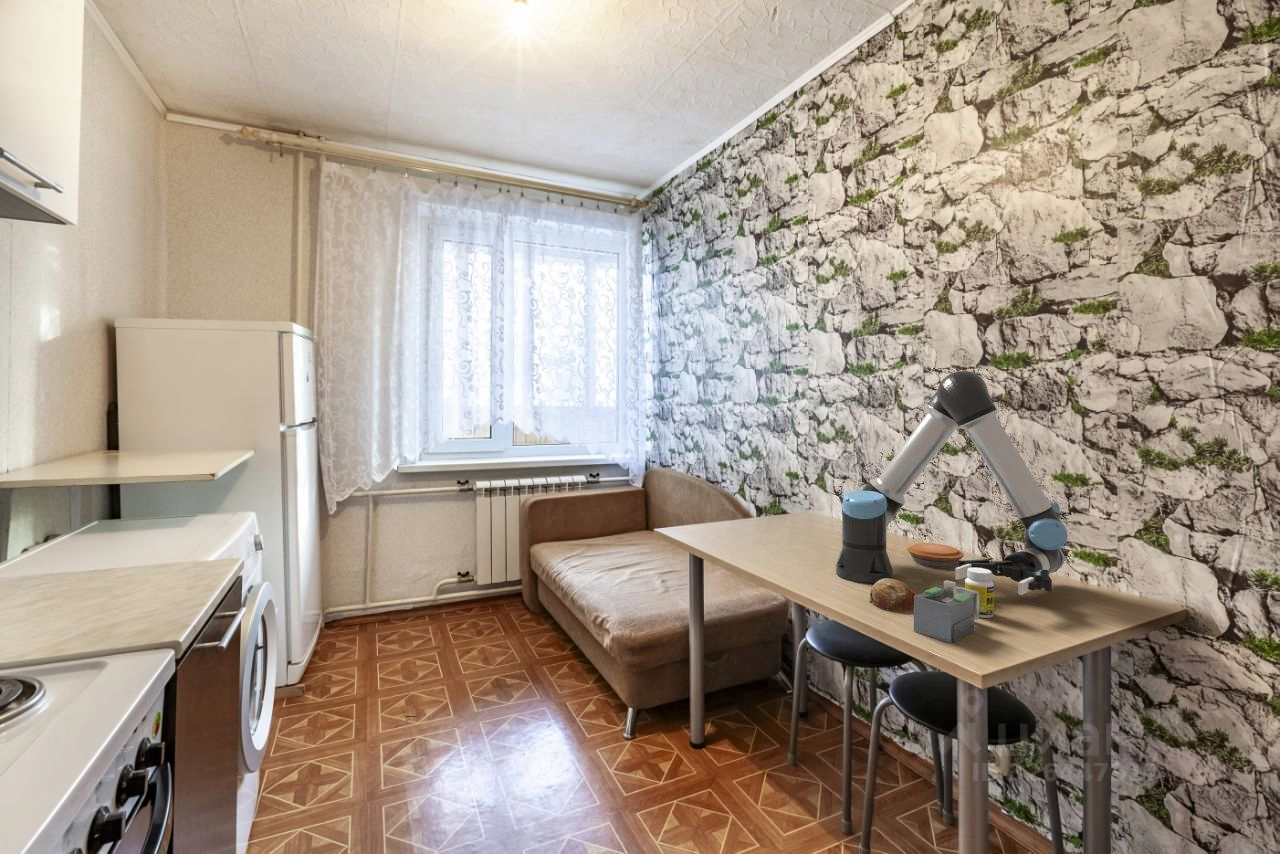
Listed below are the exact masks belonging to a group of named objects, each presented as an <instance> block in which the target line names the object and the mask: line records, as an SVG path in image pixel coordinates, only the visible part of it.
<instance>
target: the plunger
mask: <svg viewBox="0 0 1280 854" xmlns="http://www.w3.org/2000/svg"><path fill="white" fill-rule="evenodd" d="M956 583H957V582H955V581H951V580H948V579H946V580H943V589H944V599H942V600H939V602H941V603H948V602H950V601H952V600H953V599H954V598H956V597H958V596H960V595H963V594H965V595H969V596H973V597H974V600H973V615H974V621H975V620H976V621H977V620H979V619H980V617H979V592H978V591H974V590H970V589H966V588H965V587H962V586H957V584H956Z"/></svg>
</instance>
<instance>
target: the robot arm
mask: <svg viewBox="0 0 1280 854" xmlns="http://www.w3.org/2000/svg"><path fill="white" fill-rule="evenodd" d="M926 410H927V413H926V414H925V415H924V416H923V418H922V419H921V421H920V422H919V424H917V426H916V428H915V429H914V430H913V431H912V433H911V434H910V435H909V437H908V438H907V439H906V441H905V442H904V443H903V444H902V446H901V447H900V449H899V450H898V451H897V452H896V454H894V456H893V458H892V459H891V461H890V462H889V463H888V464H887V465H886V467H885V469H883V471H882V472H881V474H880V475H879V476H878V477H877V478H876V477H875V478H871V479H869V481H868V482H867V483H866V485H865V486H864V487H863V488H862V490H855V491H849V492H847V493H846V494H845V495H843V498H842V502H841V509H842V510H841V511H842V521H841V522H842V526H841V527H842V537H841V538H842V541H841V542H842V544H841V545H842V546H841V550H840V553H839V556H838V558H837V562H836V564H835V574H836V575H837V576H838V577H840V578H843V579H846V580H848V581H852V582H859V583H865V584H875V583H876V582H877V581H879V580H881V579H885V578H889V579H894V570H893V566H892V563H891V561H890V557H889V554H888V552H887V526H888V525H889V524H890V523H892V521H893V520H894V518H895V517H896V515H897V514H898V512H899V511H900V510H901V508H902V507H903V506H904V505H905V503H906V500H905V495H906V493H907V492H908V491H909V490H910V488H911V487H912V486H913V484H914V483H915V482H916V480H917V479H918V478H919V476H920V475H921V474H922V473H923V472H924V470H925V469H926V468H927V466H928V465H929V464H931V462H932V460H934V458H935V457H936V456H937V454H938V453H939V451H940V450H941V449H942V448H943V446H945V444H946V442H948V440H949V438H951V436H952V435H953V433H954V432H955V431H956V430H957V429H963V430H965V432H966V433H967V435H968V437H969V438H970V440H971V441H972V443H973V445H974V447H975V448H976V450H977V451H978V453H979V455H980V456H981V458H982V460H983V461H984V463H985V465H986V466H987V468H988V469H989V471H990V472H991V475H992V476H993V478H994V479H995V481H996V482H997V485H998V486H999V488H1000V490H1001V491H1002V493H1003V494H1004V496H1005V498H1006V500H1007V501H1008V503H1009V504H1010V505H1011V507H1012V509H1013V511H1014V512H1015V514H1016V516H1017V518H1018V520H1019V521H1020V523H1021V525H1022V526H1023V527H1024V542H1023V543H1024V544H1023V545H1024V546H1023V547H1024V549H1021V550H1018V551H1015V552H1013V553H1010V554H1008V555H1007V556H1006V557H1005V558H1004V560H1002V561H998V560H996V561H995V560H993V559H992V558H984V559H966V560H965V559H963V560H961V559H960V560H959V561H958V563H957V565H958V566H957V567H955V569H954V570H955V573H954V574H955V575H954V576H955V577H954V579H955V580H958V581H959V580H961V579H964V578H965V579H966V578H968V576H967V569H968V568H983V569H987V570H990V571H991V572H992V576H993V575H994V576H995V577H1005V578H1009V579H1011V580H1012V581H1014V582H1017V583H1018V584H1017V588H1018V589H1017V594H1018V595H1019V596H1020V595H1021V596H1023V595H1025V594H1027V593H1030V592H1032V591H1037V590H1038V591H1041V590H1042V589H1044V590H1045V591H1046V592H1052V589H1053V587H1052V586H1053V583H1052V582H1053V581H1052V579H1051V577H1050V574H1053V573H1055V572H1057V571H1058V570H1059V569H1061V568H1062V567H1063V566H1064V564H1065V561H1066V558H1065V554H1064V552H1063V550H1062V549H1061V548H1062V547H1063V546H1064V545H1065V544H1066V543H1067V541H1068V538H1069V537H1068V536H1069V535H1068V529H1067V527H1066V526H1065V524H1063V522H1062V520H1061V511H1060V510H1061V509H1060V504H1059V503H1058V502H1055V501H1054V500H1048V498H1047V497H1046V495H1045V494H1044V492H1043V490H1042V489H1041V487H1040V485H1039V484H1038V482H1037V480H1036V479H1035V477H1034V475H1033V474H1032V472H1031V471H1030V469H1029V467H1028V466H1027V464H1026V462H1025V461H1024V459H1023V457H1022V456H1021V455H1020V453H1019V451H1018V450H1017V448H1016V446H1015V445H1014V443H1013V441H1012V440H1011V438H1010V437H1009V434H1008V433H1007V432H1006V430H1005V429H1004V427H1003V425H1002V423H1001V422H1000V420H999V418H998V417H997V414H998V413H997V412H998V409H997V407H996V405H995V404H994V402H993V400H992V398H991V395H990V394H989V389H988V386H987V383H986V381H985V380H984V378H982V376H980V375H978V374H977V373H975V372H972V371H970V370H969V371H968V370H958V371H954V372H951V373H949V374H948V375H946V376H945V377H944V378H943V379H942V380H941V381H940V383H939V385H938V387H937V391H936V392H935V393H934V394H933V396H932V397H931V398H930V400H929V401H928V402H927V404H926Z"/></svg>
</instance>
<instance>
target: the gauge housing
mask: <svg viewBox="0 0 1280 854" xmlns="http://www.w3.org/2000/svg"><path fill="white" fill-rule="evenodd" d="M942 599H944V588H940V587H936V586H934V587H932V588H929V589H927V590H924V592H922V593H919V594H917V595H915V596H914V606H913V632H914V631H915V633H917V632H918V634H921V635H924V636H927V637H931V638H933V639H936V640H939V641H942V642H945V643H949V644H952V643H955V642H957V640H958V641H959V640H961V639H964V638H965V637H967V636H969V635H970V633H971V634H972V632H973V633H974V632H975V619H974V615H973V600H974V597H973V596H969V595H965V594H963V595H960V596H958V597H956V598H954V599H953V600H952V601H950V602H948V603H941V602H939V600H942ZM968 634H969V635H968Z"/></svg>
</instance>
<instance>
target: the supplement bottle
mask: <svg viewBox="0 0 1280 854" xmlns="http://www.w3.org/2000/svg"><path fill="white" fill-rule="evenodd" d="M967 576H968V577H965V580H964V588H966V589H970V590H974V591H978V592H979V619H980V618H981V619H982V618H983V619H990V618H992V617H994V608H995V607H994V606H995V605H994V603H995V601H994V600H995V598H994V597H995V595H994V594H995V592H994V591H995V585H994V582H993V581H992V580H993V579H992V578H993V574H992V572H991V571H990V570H987V569H983V568H968V569H967Z"/></svg>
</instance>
